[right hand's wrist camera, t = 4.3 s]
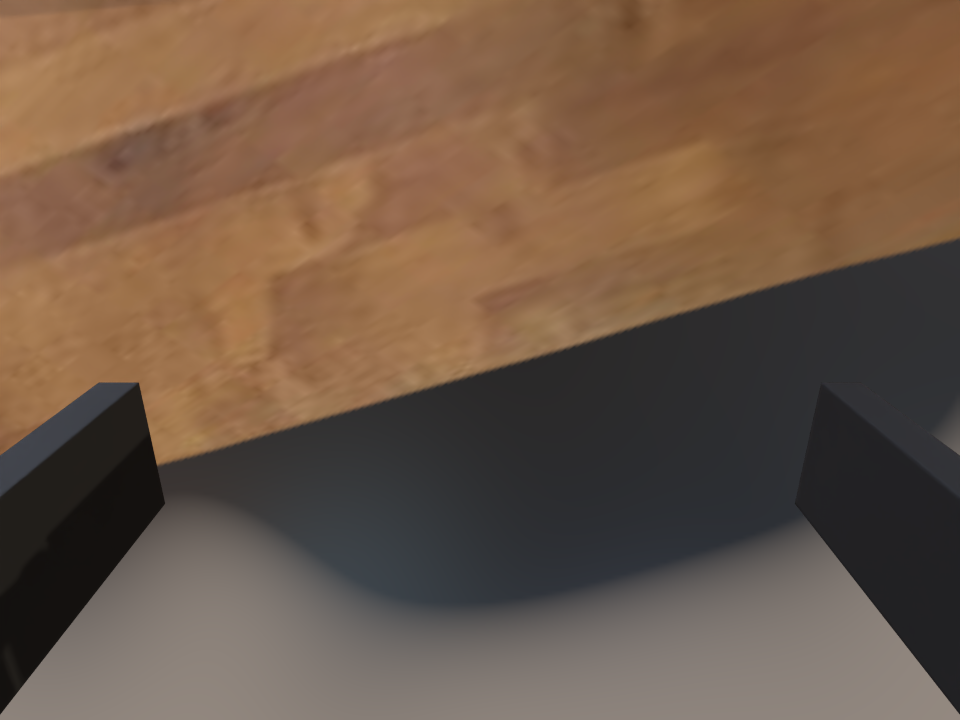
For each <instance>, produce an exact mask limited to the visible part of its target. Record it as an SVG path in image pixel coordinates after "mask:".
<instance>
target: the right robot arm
mask: <svg viewBox="0 0 960 720" xmlns="http://www.w3.org/2000/svg"><path fill="white" fill-rule="evenodd" d="M164 504H165V501H164V496H163V492H162V487H161V483H160V478H159V473H158V469H157V464H156V460H155V455H154V451H153V446H152V441H151V437H150V432H149V428H148V423H147V418H146V414H145V409H144V405H143V400H142V395H141V391H140V386H139V383H98V384H96V385H95V386H94V387H92V388H91V389H90V390H88V391H87V392H86V393H84V394H83V395H82V396H80V397H79V398H77V399H76V400H75V401H73V402H72V403H71V404H69V405H68V406H67V407H65V408H64V409H63V410H61V411H60V412H59V413H57V414H56V415H54V416H53V417H52V418H50V419H49V420H48V421H46V422H45V423H44V424H42V425H41V426H40V427H38V428H37V429H36V430H34V431H33V432H31V433H30V434H29V435H27V436H26V437H25V438H23V439H22V440H21V441H19V442H18V443H17V444H15V445H14V446H13V447H11V448H10V449H8V450H7V451H6V452H4V453H3V454H2V455H0V714H1V713H2V711H3V710H4V709H5V708H6V706H7V705H8V704H9V702H10V701H11V700H12V699H13V697H14V696H15V695H16V694H17V692H18V691H19V690H20V688H21V687H22V686H23V685H24V683H25V682H26V681H27V679H28V678H29V677H30V676H31V674H32V673H33V672H34V671H35V669H36V668H37V667H38V665H39V664H40V663H41V662H42V660H43V659H44V658H45V656H46V655H47V654H48V653H49V651H50V650H51V649H52V648H53V646H54V645H55V644H56V642H57V641H58V640H59V639H60V637H61V636H62V635H63V633H64V632H65V631H66V630H67V628H68V627H69V626H70V625H71V623H72V622H73V621H74V619H75V618H76V617H77V615H78V614H79V613H80V612H81V610H82V609H83V608H84V606H85V605H86V604H87V603H88V601H89V600H90V599H91V598H92V596H93V595H94V594H95V592H96V591H97V590H98V589H99V587H100V586H101V585H102V584H103V582H104V581H105V580H106V578H107V577H108V576H109V575H110V573H111V572H112V571H113V570H114V568H115V567H116V566H117V564H118V563H119V562H120V561H121V559H122V558H123V557H124V555H125V554H126V553H127V552H128V550H129V549H130V548H131V546H132V545H133V544H134V543H135V541H136V540H137V539H138V538H139V536H140V535H141V534H142V532H143V531H144V530H145V529H146V527H147V526H148V525H149V524H150V522H151V521H152V520H153V518H154V517H155V516H156V515H157V513H158V512H159V511H160V509H161V508H162V507H163V506H164ZM795 504H796V506H797V507H798V508H799V509H800V511H801V512H802V513H803V514H804V516H805V517H806V518H807V520H808V521H809V522H810V524H811V525H812V526H813V527H814V529H815V530H816V531H817V532H818V534H819V535H820V536H821V538H822V539H823V540H824V541H825V543H826V544H827V545H828V547H829V548H830V549H831V550H832V552H833V553H834V554H835V555H836V557H837V558H838V559H839V561H840V562H841V563H842V564H843V566H844V567H845V568H846V570H847V571H848V572H849V573H850V575H851V576H852V577H853V578H854V580H855V581H856V582H857V584H858V585H859V586H860V587H861V589H862V590H863V591H864V593H865V594H866V595H867V596H868V598H869V599H870V600H871V602H872V603H873V604H874V605H875V607H876V608H877V609H878V610H879V612H880V613H881V614H882V616H883V617H884V618H885V619H886V621H887V622H888V623H889V625H890V626H891V627H892V628H893V630H894V631H895V632H896V633H897V635H898V636H899V637H900V638H901V640H902V641H903V642H904V644H905V645H906V646H907V648H908V649H909V650H910V651H911V653H912V654H913V655H914V656H915V658H916V659H917V660H918V662H919V663H920V664H921V665H922V667H923V668H924V669H925V671H926V672H927V673H928V674H929V676H930V677H931V678H932V679H933V681H934V682H935V683H936V685H937V686H938V687H939V688H940V690H941V691H942V692H943V694H944V695H945V696H946V697H947V699H948V700H949V701H950V702H951V704H952V705H953V706H954V708H955V709H956V710H957V711H958V713H959V714H960V455H958V454H957V453H956V452H954V451H953V450H952V449H950V448H949V447H947V446H946V445H945V444H943V443H942V442H941V441H939V440H938V439H937V438H935V437H934V436H932V435H931V434H930V433H928V432H927V431H926V430H924V429H923V428H922V427H920V426H919V425H918V424H916V423H915V422H914V421H912V420H911V419H910V418H908V417H907V416H906V415H904V414H903V413H901V412H900V411H899V410H897V409H896V408H895V407H893V406H892V405H891V404H889V403H888V402H887V401H885V400H884V399H882V398H881V397H880V396H878V395H877V394H876V393H874V392H873V391H872V390H870V389H869V388H868V387H866V386H865V385H864V384H862V383H821V386H820V391H819V396H818V400H817V405H816V409H815V414H814V418H813V423H812V428H811V432H810V437H809V441H808V446H807V451H806V455H805V460H804V464H803V469H802V473H801V478H800V483H799V487H798V492H797V496H796V501H795Z"/></svg>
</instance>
